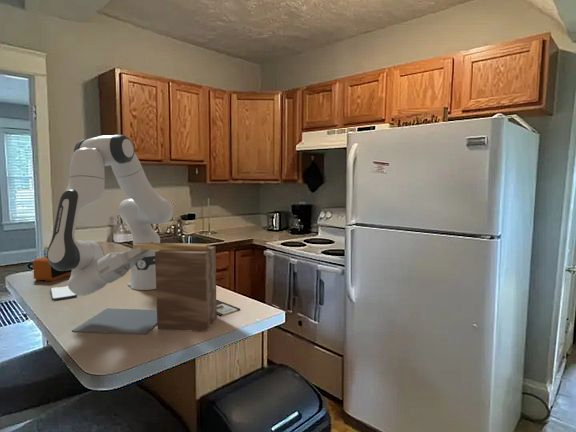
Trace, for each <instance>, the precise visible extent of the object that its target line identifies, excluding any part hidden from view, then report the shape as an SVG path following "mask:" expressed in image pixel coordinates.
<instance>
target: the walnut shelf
mask: <svg viewBox="0 0 576 432" xmlns="http://www.w3.org/2000/svg"><path fill="white" fill-rule="evenodd" d="M216 250H217V249H216V245H214V246H213V245H209V249H208V250H206V251H189V250H159V251H157V252H155V270H156V289H155V292H156V294H155V296H156V298H155V299H156V310H157V325H156V326H157V330H160V331H164V330H165V331H185V330H192V331H191V332H207V331H208V330H209V329H210V327H211V326H212V325H211V324H213V323H214V322H215V321H216V319H217V318H218V315H217V304H216V300H217V263H216V262H217V260H216V259H217V258H216V254H217V253H216V252H217V251H216ZM216 317H217V318H216ZM213 321H214V322H213ZM210 325H211V326H210ZM208 328H209V329H208ZM195 330H196V331H195Z"/></svg>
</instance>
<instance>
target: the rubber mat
mask: <svg viewBox="0 0 576 432" xmlns="http://www.w3.org/2000/svg"><path fill="white" fill-rule="evenodd" d="M156 326H157V309H138V308H135V309H134V308H105V309H103V310H102V311H100V312H99V313H97V314H96V315H94V316H92V317H91V318H90V319H88V320H86V321H85V322H83V323H81V324H79V325H78V326H77V327H75V328H73V329H72V330H71V333H97V334H98V333H99V334H100V333H101V334H122V335H123V334H125V335H126V334H127V335H147V334H148V333H149V332H150V331H151V330H153V329H154V328H155V327H156Z"/></svg>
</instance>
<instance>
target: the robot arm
mask: <svg viewBox="0 0 576 432" xmlns="http://www.w3.org/2000/svg"><path fill="white" fill-rule="evenodd" d="M109 166H110V167H111V169H112V172H113V174H114V175H113V176H114V177H115V179H116V181H117V184H118V186H119V188H120V190H121V192H122V193H123V194H124V195H125V196H127V197H129V198H127V199H123V200H122V201H121V202H120V203H119V205H118V214H119V217H120V218H121V220H123V221H124V222H125V223H126V225H127V226H128V228H129V229H128V230H129V231H130V233H131V237H132V238H131V239H132V246H133V245H134V244H137V243H161V237H160V235H159V233H158V232H156V231H155V230H154V228H153V226H152V225H160V224H165V223H168V222H169V221H170V220H171V219H172V218H173V215H174V208H173V205H172V203H171V202H170V201H169V200H166V199H165V198H164V197H162V195H160V194H159V193H158V191H156V189H154V187H153V186H152V184H151V183H150V182H149V180H148V177H147V175H146V173H145V170H144V168H143V166H142V164H141V162H140V160H139V157H138V156H137V154H136V152H135V145H134V143H133V141H132V140H131V139H130V138H129V137H128V136H126V135H124V134H114V135H113V134H112V135H110V134H109V135H108V134H107V135H98V136H95V137H90V138H83V139H82V140H79V141H77V142H76V143H75V145H74V149H73V154H72V156H71V159H70V166H69V170H68V171H69V172H68V183H67V188H66V190H65V191H64V192H63V193H62V194H61V196H60V198H59V202H58V205H57V206H58V207H57V211H56V215H55V216H56V217H55V221H54V226H53V232H52V235H51V240H50V242H49V245H48V247H47V250H46V255H47V260H48V262H49V264H50V265H51V266H52V267H53V268H54V269H56V270H58V271H66V270H72V272H71V275H69V276H70V277H69V279H68V281H67V286H68V287H69V289H70V290H71V291H72V292H73V293H74V294H76V295H77V296H81V297H85V296H88V295H91V294H94V293H96V292H97V291H100V290H101V289H103V288H104V287H105V286H106V285H108V284H111V283H113V282H115V281H117V280H119V279H120V278H122V277H124V276H125V275H127V273H128V272H129V271H130V274H129V275H130V277H129V278H130V279H129V282H127V286H128V287H130V288H131V289H132V290H136V291H150V290H156V270H155V252H157V251H159V250H143V249H142V248H141V247H138V248H136V249H133V248H132V249H128V250H127V251H126V250H124V251H119V252H118V251H117V252H116V251H115V252H113V251H112V252H109V253H107V254H106V255H105V253H104V250H103V247H102V245H101V244H100V243H99V242H98V241H95V240H87V239H81V240H80V239H76V238H75V233H76V227H77V222H78V216H79V213H80V212H81V210H82V209H83V208H85V207H88V206H91V205H93V204H96V203H98V202H99V201H100V200H101V199H102V198H103V195H104V193H105V186H106V185H105V182H106V180H105V179H106V175H105V174H106V173H105V172H106V171H105V167H109ZM151 224H152V225H151Z"/></svg>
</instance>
